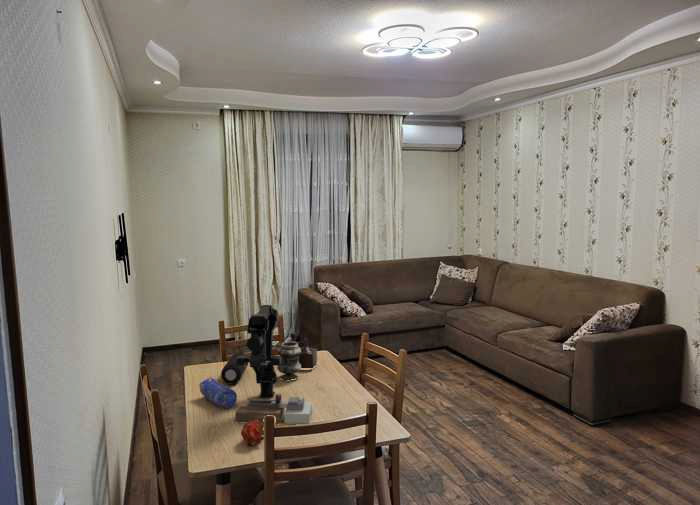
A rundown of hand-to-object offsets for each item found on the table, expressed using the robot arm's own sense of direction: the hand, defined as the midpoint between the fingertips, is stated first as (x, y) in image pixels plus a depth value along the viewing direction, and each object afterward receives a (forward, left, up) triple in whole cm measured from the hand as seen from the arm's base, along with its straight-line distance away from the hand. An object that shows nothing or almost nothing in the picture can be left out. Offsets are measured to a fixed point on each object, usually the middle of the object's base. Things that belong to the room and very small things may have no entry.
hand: (259, 379), depth 219 cm
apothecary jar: (-40, +7, -13) cm, 43 cm away
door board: (+8, +2, -13) cm, 15 cm away
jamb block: (+8, +18, -13) cm, 24 cm away
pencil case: (-7, -20, -13) cm, 25 cm away
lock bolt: (+8, +12, -9) cm, 17 cm away
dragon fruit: (+31, +4, -13) cm, 34 cm away
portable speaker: (-41, -21, -13) cm, 48 cm away
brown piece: (-58, +11, -13) cm, 60 cm away
